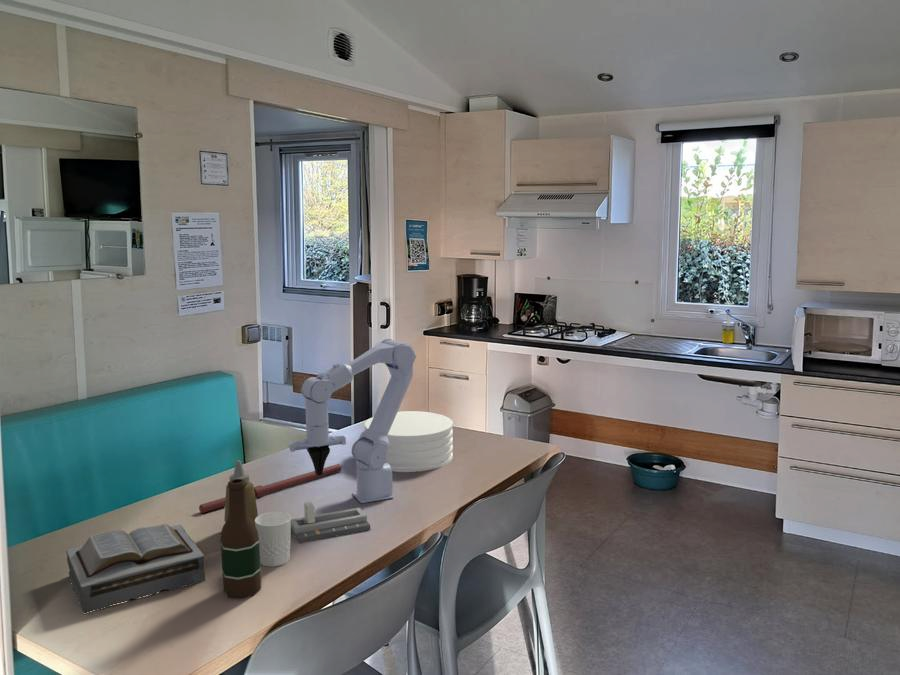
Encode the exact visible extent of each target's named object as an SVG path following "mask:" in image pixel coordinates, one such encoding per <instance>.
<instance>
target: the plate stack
mask: <svg viewBox="0 0 900 675" xmlns="http://www.w3.org/2000/svg"><path fill="white" fill-rule="evenodd" d="M373 417H374V416H372V417H370V418H368V419H366V420H365V422H364V431H365V430H367V429H368V428H369V427H370V424H371V422H372V420H373ZM453 426H454V422H453V420H452V419H451V418H450V417H448V416H446V415H443V414H440V413H436V412H435V413H434V412H429V411H428V412H427V411H420V410H419V411H417V410H413V411H412V410H411V411H410V410H407V411H405V410H403V411H398V412H397V414H396V417H395V419H394V421H393V424H392V426H391V428H390V430H389V433H388V435H387V438H388V441H389V445H390V446H389V448H388V452H387V460H386V462H385V463H388V464H389V465H390V467H391V470H392V472H396V473H397V472H399V473H411V472H412V473H415V472H416V471H417V472H424V471H431V470H435V469H438V468H442V467H445V466H446V465H449V464H450V463H451V462H452V460H453V458H454V456H453V455H454V454H453V453H454V452H453V450H454V446H453V445H454V444H453V443H454V442H453V441H454V439H453V435H454V434H453V433H454V430H453V428H454V427H453Z"/></svg>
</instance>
